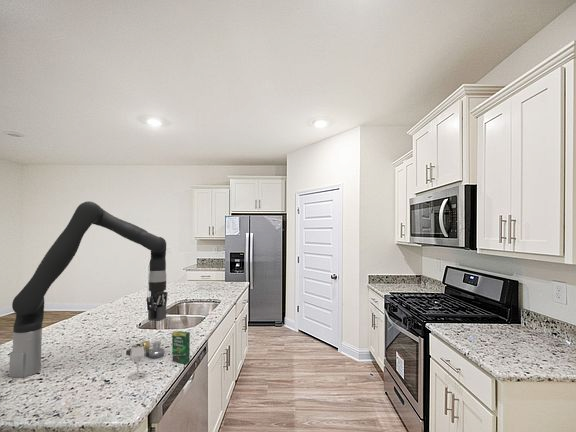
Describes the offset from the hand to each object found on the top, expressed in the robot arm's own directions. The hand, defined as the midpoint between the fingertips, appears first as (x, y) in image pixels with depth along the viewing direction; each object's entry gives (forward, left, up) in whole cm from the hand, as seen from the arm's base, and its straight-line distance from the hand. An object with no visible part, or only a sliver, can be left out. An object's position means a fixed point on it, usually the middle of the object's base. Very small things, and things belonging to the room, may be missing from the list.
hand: (157, 316), depth 152 cm
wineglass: (-20, -4, -18) cm, 27 cm away
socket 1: (+5, +9, -18) cm, 21 cm away
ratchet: (0, +6, -18) cm, 19 cm away
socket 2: (0, 0, -1) cm, 1 cm away
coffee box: (-4, -14, -18) cm, 23 cm away
